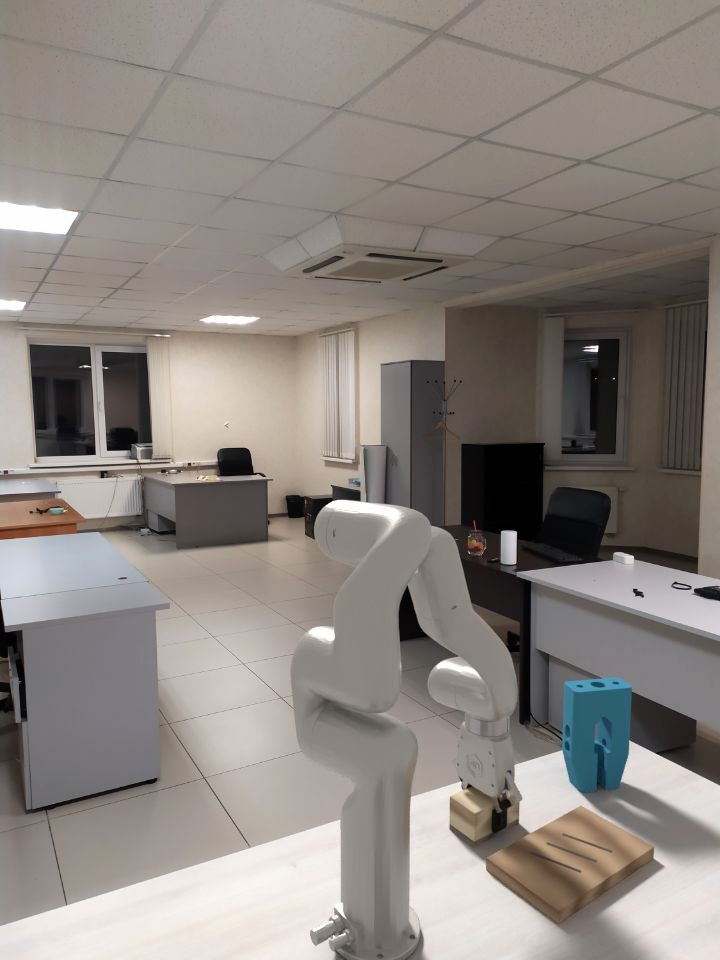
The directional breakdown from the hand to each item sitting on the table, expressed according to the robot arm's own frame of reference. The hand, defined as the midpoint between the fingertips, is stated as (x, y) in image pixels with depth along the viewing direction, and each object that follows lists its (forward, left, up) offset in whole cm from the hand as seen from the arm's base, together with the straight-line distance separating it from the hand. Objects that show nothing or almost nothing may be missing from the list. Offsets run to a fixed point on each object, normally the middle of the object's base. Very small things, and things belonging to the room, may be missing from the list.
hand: (484, 819), depth 118 cm
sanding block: (0, 0, -1) cm, 1 cm away
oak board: (+4, -15, -1) cm, 16 cm away
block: (+27, -3, -1) cm, 27 cm away
